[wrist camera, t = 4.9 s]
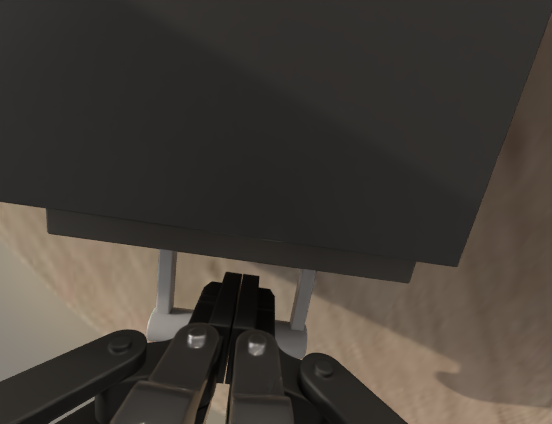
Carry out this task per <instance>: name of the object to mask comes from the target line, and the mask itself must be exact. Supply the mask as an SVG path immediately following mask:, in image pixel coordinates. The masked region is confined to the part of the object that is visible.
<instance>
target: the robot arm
mask: <svg viewBox="0 0 552 424" xmlns="http://www.w3.org/2000/svg"><path fill="white" fill-rule="evenodd" d="M241 280H242V284H241ZM240 287H241V289H240ZM228 356H229V358H228ZM227 361H228V365H227ZM226 366H227V373H226V380H225V384H230V388H229V396H228V402H227V410H226V422H225V424H408V423H407V422H406V421H404V420H403V419H402V418H401V417H400V416H399V415H398V414H396V413H395V412H394V411H393V410H392V409H391V408H390V407H389V406H387V405H386V404H385V403H384V402H383V401H382V400H381V399H380V398H378V397H377V396H376V395H375V394H374V393H373V392H372V391H371V390H369V389H368V388H367V387H366V386H365V385H364V384H363V383H362V382H360V381H359V380H358V379H357V378H356V377H355V376H354V375H353V374H351V373H350V372H349V371H348V370H347V369H346V368H345V367H344V366H342V365H341V364H340V363H339V362H338V361H337V360H335V359H334V358H332V357H331V356H329V355H326V354H323V353H311V354H308V355H306V356H305V357H304V358H303V360H300V359H297V358H294V357H292V356H290V355H288V354H286V353H285V352H284V351H282V350H281V349H280V347H279V346H278V343H277V341H276V339H275V296H274V295H273V293H272V292H271V290H270V289H267V288H259V276H255V275H247V274H243V279H242V274H239V273H232V272H226V273H225V276H224V279H223V282H222V283H220V282H213V281H212V282H210V283H209V284H208V285H206V286H205V287H204V289H203V291H202V293H201V296H200V298H199V300H198V303H197V305H196V307H195V309H194V311H193V314H192V316H191V318H190V320H189V323H188V325H185V326H183V327H182V328H180V329H179V330H178V331H177V333H176V334H175V336H174V338H172V339H169V340H166V341H160V342H152V343H147V339H146V337H145V335H144V334H142V333H141V332H139V331H136V330H120V331H116V332H113V333H110V334H108V335H106V336H103V337H101V338H99V339H97V340H94V341H92V342H90V343H88V344H85V345H83V346H81V347H78V348H76V349H74V350H71V351H69V352H67V353H65V354H62V355H60V356H58V357H56V358H53V359H52V360H49V361H46V362H44V363H42V364H40V365H37V366H35V367H33V368H30V369H28V370H26V371H24V372H21V373H19V374H17V375H15V376H12V377H10V378H8V379H6V380H3V381H1V382H0V424H48V423H50V422H51V421H53V420H54V419H56V418H58V417H60V416H62V415H63V414H65V413H66V412H68V411H70V410H72V409H74V408H75V407H77V406H79V405H80V404H82V403H84V402H85V401H87V400H89V399H91V398H92V397H94V396H95V400H94V401H92V402H91V403H89V404H87V405H86V406H84V407H82V408H80V409H79V410H77V411H75V412H74V413H72V414H70V415H69V416H67V417H65V418H64V419H62V420H60V421H58V422H57V423H55V424H205V423H206V420H207V416H208V413H209V410H210V407H211V401H212V398H213V396H214V392H215V388H216V383H223V382H224V376H225V371H226Z"/></svg>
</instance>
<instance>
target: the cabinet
mask: <svg viewBox="0 0 552 424" xmlns="http://www.w3.org/2000/svg"><path fill="white" fill-rule="evenodd" d="M551 13H552V0H0V202H6V203H13V204H19V205H26V206H33V207H40V208H47V209H54V210H61V211H68V212H75V213H82V214H89V215H96V216H103V217H110V218H117V219H124V220H131V221H138V222H145V223H152V224H159V225H166V226H173V227H180V228H187V229H194V230H201V231H208V232H215V233H222V234H229V235H236V236H243V237H249V238H256V239H263V240H270V241H277V242H284V243H291V244H298V245H305V246H312V247H319V248H326V249H333V250H340V251H347V252H354V253H361V254H368V255H375V256H382V257H389V258H396V259H403V260H410V261H417V262H424V263H431V264H438V265H445V266H452V267H457V266H458V263H459V261H460V258H461V255H462V253H463V250H464V247H465V245H466V242H467V239H468V237H469V234H470V231H471V228H472V226H473V223H474V220H475V218H476V215H477V212H478V210H479V207H480V204H481V202H482V199H483V196H484V193H485V191H486V188H487V185H488V183H489V180H490V177H491V175H492V172H493V169H494V167H495V164H496V161H497V158H498V156H499V153H500V150H501V148H502V145H503V142H504V140H505V137H506V134H507V131H508V129H509V126H510V123H511V121H512V118H513V115H514V113H515V110H516V107H517V105H518V102H519V99H520V96H521V94H522V91H523V88H524V86H525V83H526V80H527V78H528V75H529V72H530V70H531V67H532V64H533V61H534V59H535V56H536V53H537V51H538V48H539V45H540V43H541V40H542V37H543V35H544V32H545V29H546V26H547V24H548V21H549V18H550V16H551Z"/></svg>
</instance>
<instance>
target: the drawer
mask: <svg viewBox="0 0 552 424" xmlns="http://www.w3.org/2000/svg"><path fill="white" fill-rule="evenodd" d="M46 216H47V231H48V233H49V234H54V235H62V236H69V237H76V238H83V239H91V240H98V241H105V242H112V243H119V244H127V245H134V246H141V247H148V248H156V249H159V265H158V284H157V304H156V307H155V308H154V310H153V312H152V314H151V316H150V319H149V322H148V326H147V339H148V340H149V341H156V342H160V341H166V340H169V339H172V338H174V336H175V334H176V333H177V331H178V330H179V329H180V328H182V327H183V326H185V325H188V323H189V320H190V318H191V316H192V314H193V311H194V310H192V309H184V308H176V307H173V305H174V291H175V276H176V262H177V252H185V253H192V254H199V255H206V256H213V257H221V258H228V259H235V260H242V261H250V262H257V263H264V264H271V265H279V266H286V267H293V268H300V274H299V279H298V284H297V289H296V294H295V298H294V303H293V308H292V313H291V318H290V322H287V321H279V320H275V339H276V341H277V343H278V346H279V347H280V349H281V350H282V351H284V352H285V353H286V354H288V355H290V356H292V357H294V358H300V359H302V358H304V356H305V353H306V347H307V328H306V325H305V321H306V316H307V312H308V307H309V303H310V298H311V294H312V289H313V285H314V280H315V276H316V271H322V272H329V273H336V274H344V275H351V276H358V277H365V278H373V279H380V280H387V281H394V282H401V283H409V282H410V279H411V276H412V273H413V270H414V267H415V264H416V261H410V260H403V259H396V258H389V257H382V256H375V255H368V254H361V253H354V252H347V251H340V250H333V249H326V248H319V247H312V246H305V245H298V244H291V243H284V242H277V241H270V240H263V239H256V238H249V237H243V236H236V235H229V234H222V233H215V232H208V231H201V230H194V229H187V228H180V227H173V226H166V225H159V224H152V223H145V222H138V221H131V220H124V219H117V218H110V217H103V216H96V215H89V214H82V213H75V212H68V211H61V210H54V209H47V208H46Z"/></svg>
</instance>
